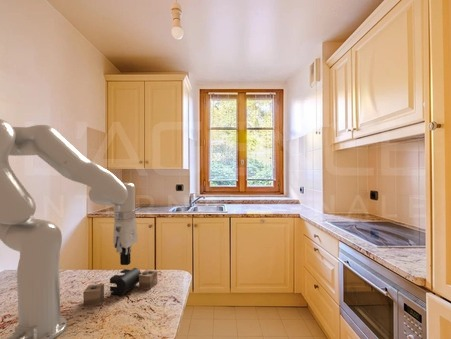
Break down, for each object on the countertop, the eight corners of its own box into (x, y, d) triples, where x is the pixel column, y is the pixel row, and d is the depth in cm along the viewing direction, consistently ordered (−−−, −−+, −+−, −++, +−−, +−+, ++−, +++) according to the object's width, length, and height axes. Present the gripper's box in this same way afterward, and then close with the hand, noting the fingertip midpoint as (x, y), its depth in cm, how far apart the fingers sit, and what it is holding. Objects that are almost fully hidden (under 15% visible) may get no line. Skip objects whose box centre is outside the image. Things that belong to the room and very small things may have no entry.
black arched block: (126, 297, 90) (125, 278, 90) (109, 295, 92) (108, 277, 92) (142, 285, 100) (141, 268, 100) (126, 283, 102) (126, 266, 102)
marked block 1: (99, 305, 86) (99, 289, 86) (83, 306, 85) (83, 291, 85) (104, 297, 91) (103, 283, 91) (89, 299, 90) (88, 284, 90)
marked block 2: (150, 289, 96) (150, 275, 96) (139, 288, 98) (138, 274, 98) (157, 283, 101) (157, 270, 101) (146, 282, 102) (146, 269, 102)
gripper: (124, 219, 88) (125, 272, 88) (142, 212, 103) (143, 257, 103) (103, 219, 89) (104, 272, 89) (124, 212, 104) (125, 257, 104)
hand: (125, 264), depth 96 cm, fingers closed
